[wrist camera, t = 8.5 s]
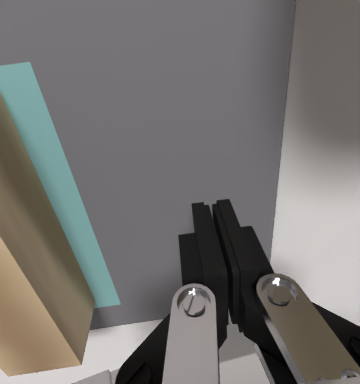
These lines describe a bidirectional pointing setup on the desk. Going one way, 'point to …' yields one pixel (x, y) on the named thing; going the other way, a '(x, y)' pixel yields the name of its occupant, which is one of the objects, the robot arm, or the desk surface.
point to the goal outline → (55, 175)
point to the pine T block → (36, 270)
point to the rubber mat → (159, 122)
